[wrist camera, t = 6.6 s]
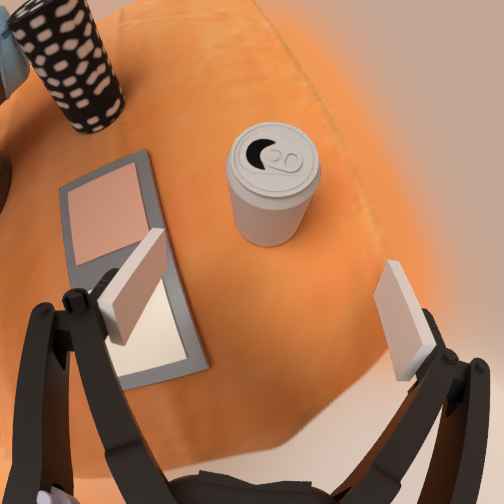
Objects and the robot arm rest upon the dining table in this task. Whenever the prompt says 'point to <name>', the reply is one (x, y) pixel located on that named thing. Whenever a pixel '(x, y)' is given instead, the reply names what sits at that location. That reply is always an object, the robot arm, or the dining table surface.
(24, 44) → the spotted tube
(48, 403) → the robot arm
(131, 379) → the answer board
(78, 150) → the dining table surface
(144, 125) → the dining table surface
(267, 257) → the dining table surface
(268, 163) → the beverage can
